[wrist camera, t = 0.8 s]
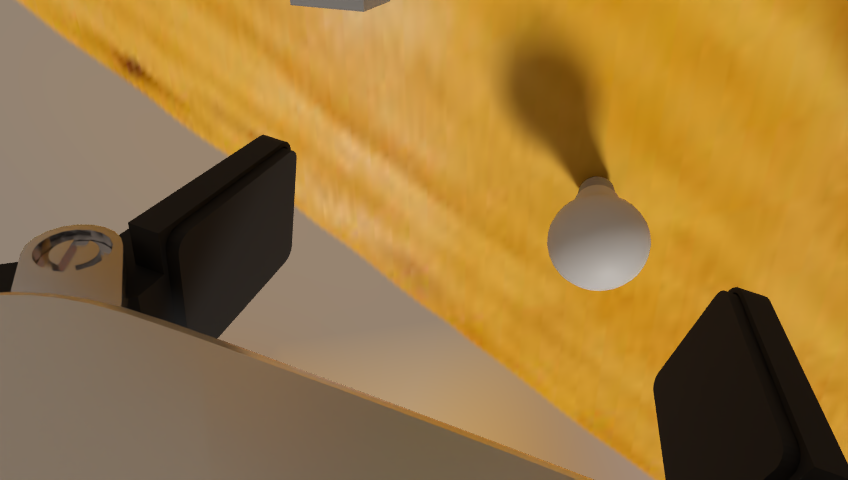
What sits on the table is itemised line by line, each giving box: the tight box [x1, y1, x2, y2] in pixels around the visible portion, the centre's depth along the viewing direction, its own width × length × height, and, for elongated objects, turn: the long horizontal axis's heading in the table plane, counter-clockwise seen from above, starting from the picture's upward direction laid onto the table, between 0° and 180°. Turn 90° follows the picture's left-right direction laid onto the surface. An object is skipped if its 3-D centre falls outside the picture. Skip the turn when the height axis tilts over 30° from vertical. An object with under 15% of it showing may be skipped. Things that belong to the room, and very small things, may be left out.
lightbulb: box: [547, 177, 651, 291], centre depth 33 cm, size 6×6×11 cm
